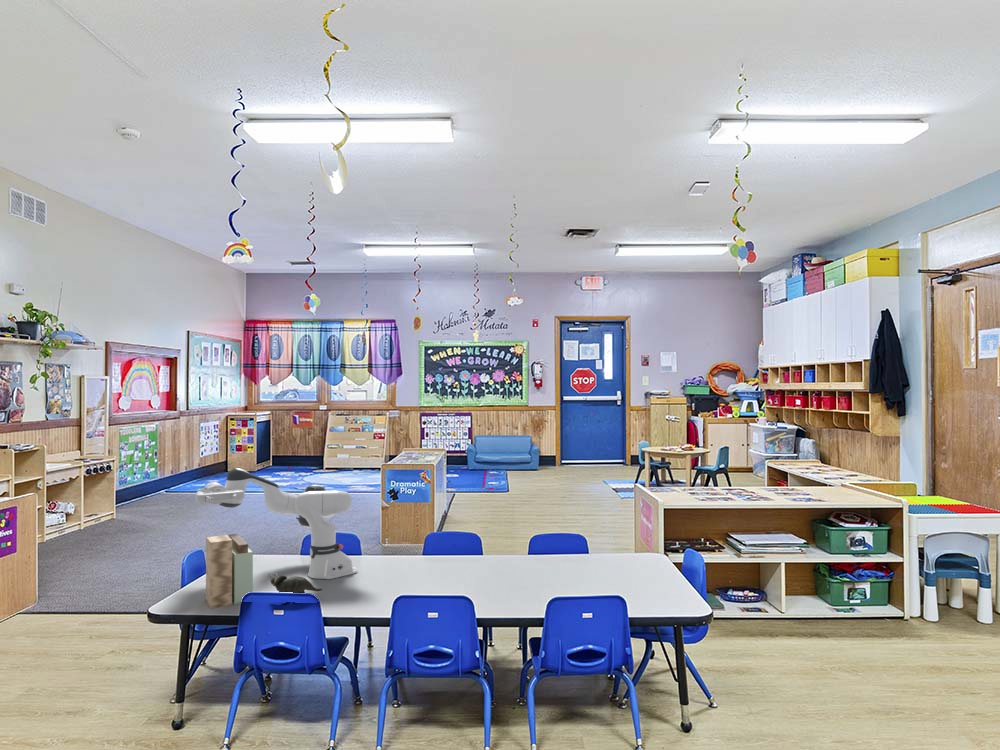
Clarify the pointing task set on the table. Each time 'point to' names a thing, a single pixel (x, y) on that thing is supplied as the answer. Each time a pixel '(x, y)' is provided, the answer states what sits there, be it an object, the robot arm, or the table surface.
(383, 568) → the table surface
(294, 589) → the dinosaur figurine
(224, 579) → the stand
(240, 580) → the pale green upright block
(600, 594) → the table surface
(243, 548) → the bar
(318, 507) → the robot arm
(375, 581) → the table surface
